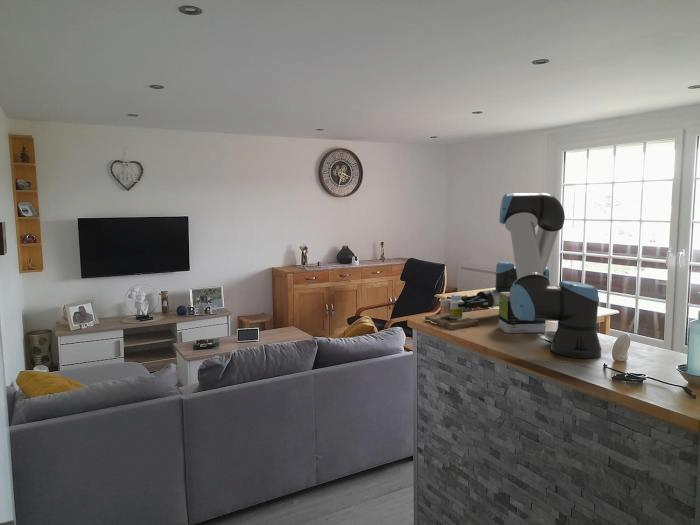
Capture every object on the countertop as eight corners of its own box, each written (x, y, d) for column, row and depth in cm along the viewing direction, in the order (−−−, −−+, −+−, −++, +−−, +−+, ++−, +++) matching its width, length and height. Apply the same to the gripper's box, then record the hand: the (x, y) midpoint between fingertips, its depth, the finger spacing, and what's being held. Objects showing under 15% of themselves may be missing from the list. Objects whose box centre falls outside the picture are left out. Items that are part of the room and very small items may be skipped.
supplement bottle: (452, 319, 202) (453, 296, 201) (447, 316, 207) (447, 293, 206) (464, 318, 203) (465, 295, 202) (458, 315, 208) (459, 293, 207)
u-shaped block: (478, 325, 199) (478, 320, 199) (452, 329, 192) (452, 324, 192) (450, 317, 214) (450, 312, 213) (425, 320, 207) (425, 316, 207)
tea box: (534, 326, 197) (536, 290, 195) (545, 333, 187) (547, 295, 185) (497, 327, 196) (499, 290, 194) (506, 333, 186) (507, 295, 185)
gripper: (503, 311, 205) (461, 318, 194) (472, 304, 221) (431, 309, 210) (504, 294, 204) (461, 299, 193) (473, 287, 220) (432, 292, 209)
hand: (446, 304), depth 202 cm, fingers closed on supplement bottle, 5 cm apart
